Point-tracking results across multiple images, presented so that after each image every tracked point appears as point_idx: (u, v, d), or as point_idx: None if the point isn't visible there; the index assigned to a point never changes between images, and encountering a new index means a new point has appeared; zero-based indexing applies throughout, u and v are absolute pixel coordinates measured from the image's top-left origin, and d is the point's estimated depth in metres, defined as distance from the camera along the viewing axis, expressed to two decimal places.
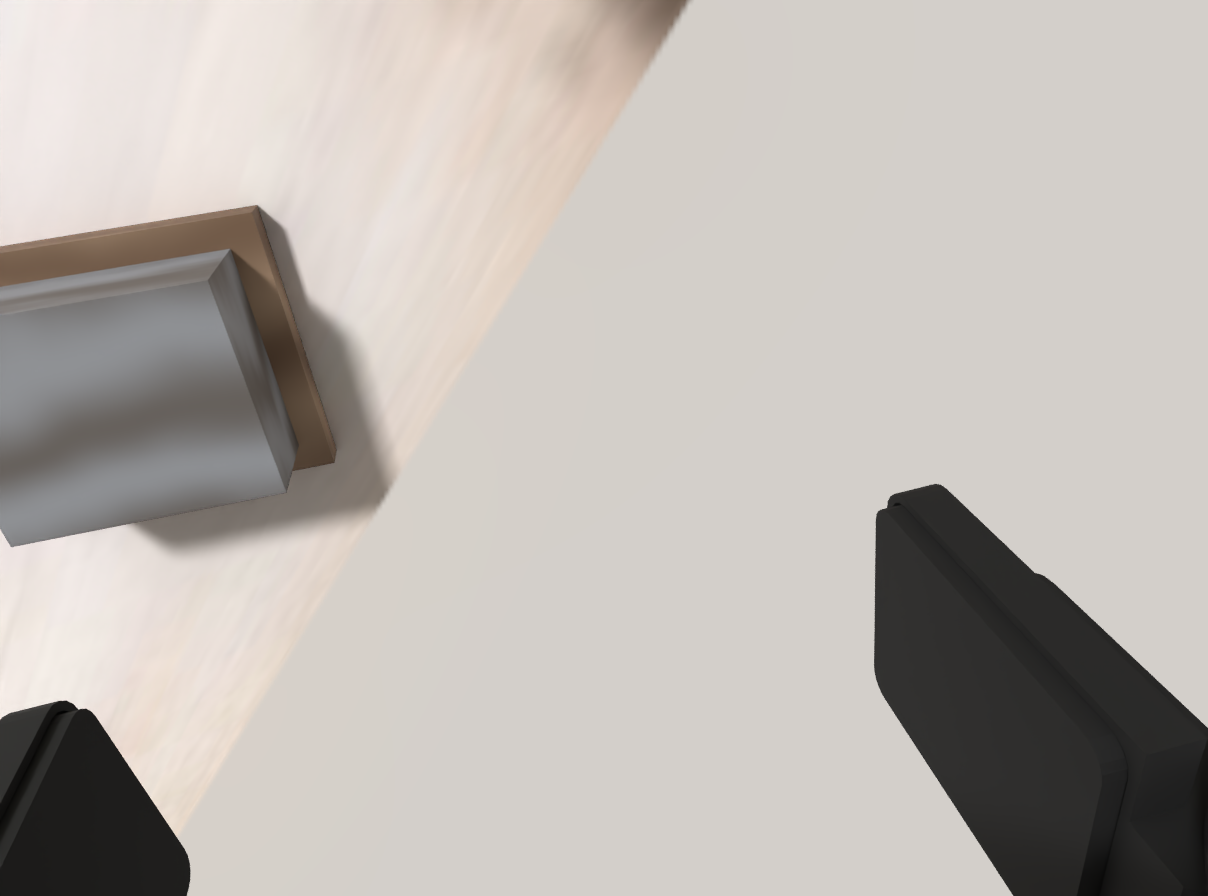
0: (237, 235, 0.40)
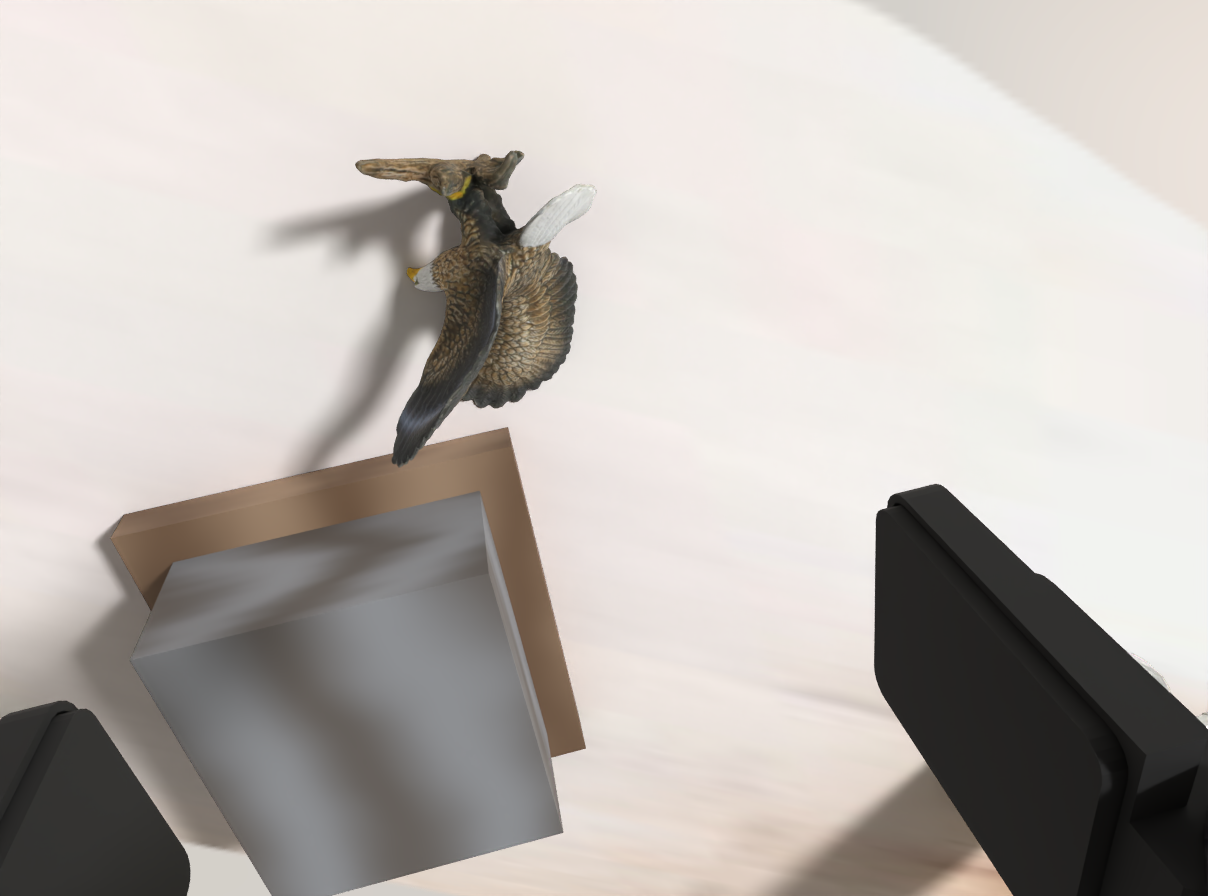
0: (561, 739, 0.37)
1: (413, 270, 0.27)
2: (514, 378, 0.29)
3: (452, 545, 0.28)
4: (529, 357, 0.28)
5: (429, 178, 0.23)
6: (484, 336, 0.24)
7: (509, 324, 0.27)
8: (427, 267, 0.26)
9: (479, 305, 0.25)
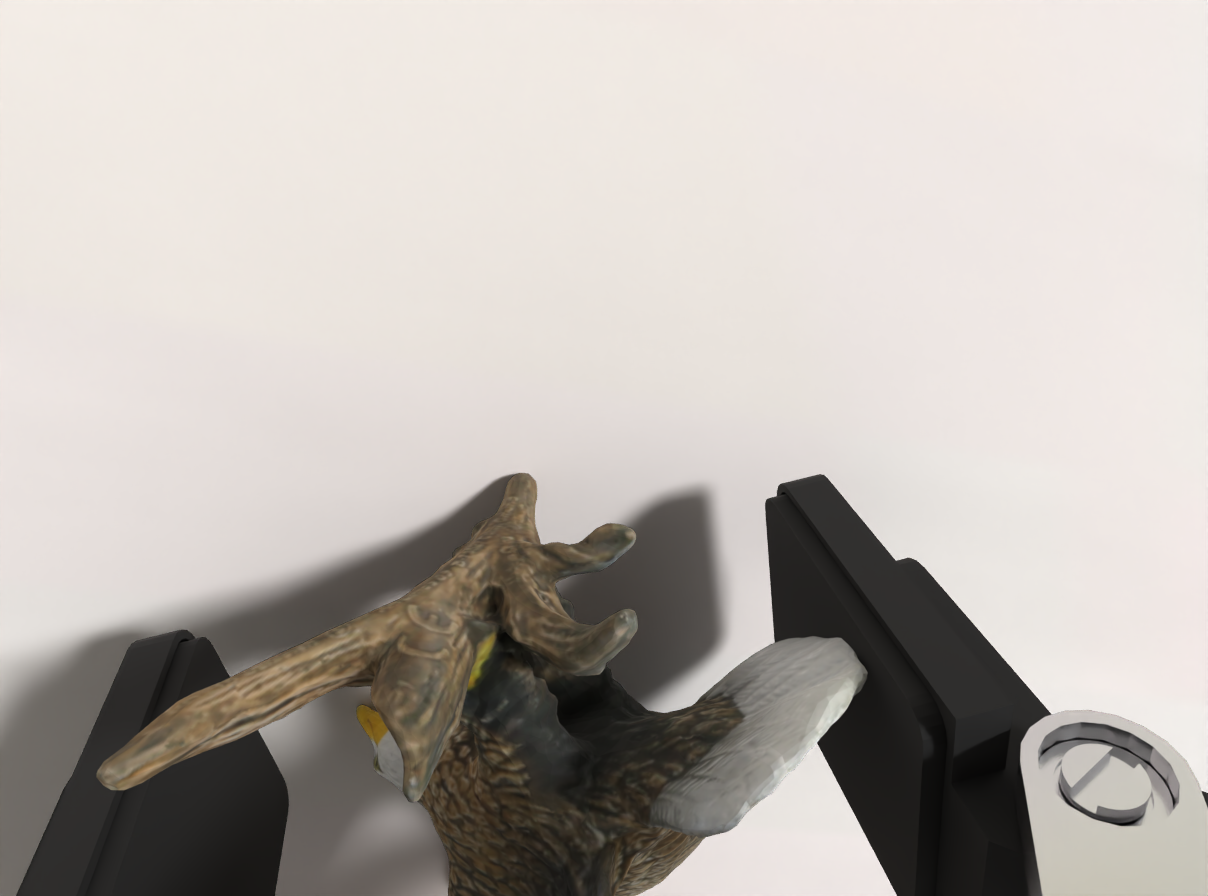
0: None
1: (370, 717, 0.12)
2: None
3: None
4: (644, 890, 0.12)
5: (373, 676, 0.08)
6: None
7: None
8: (398, 751, 0.11)
9: None
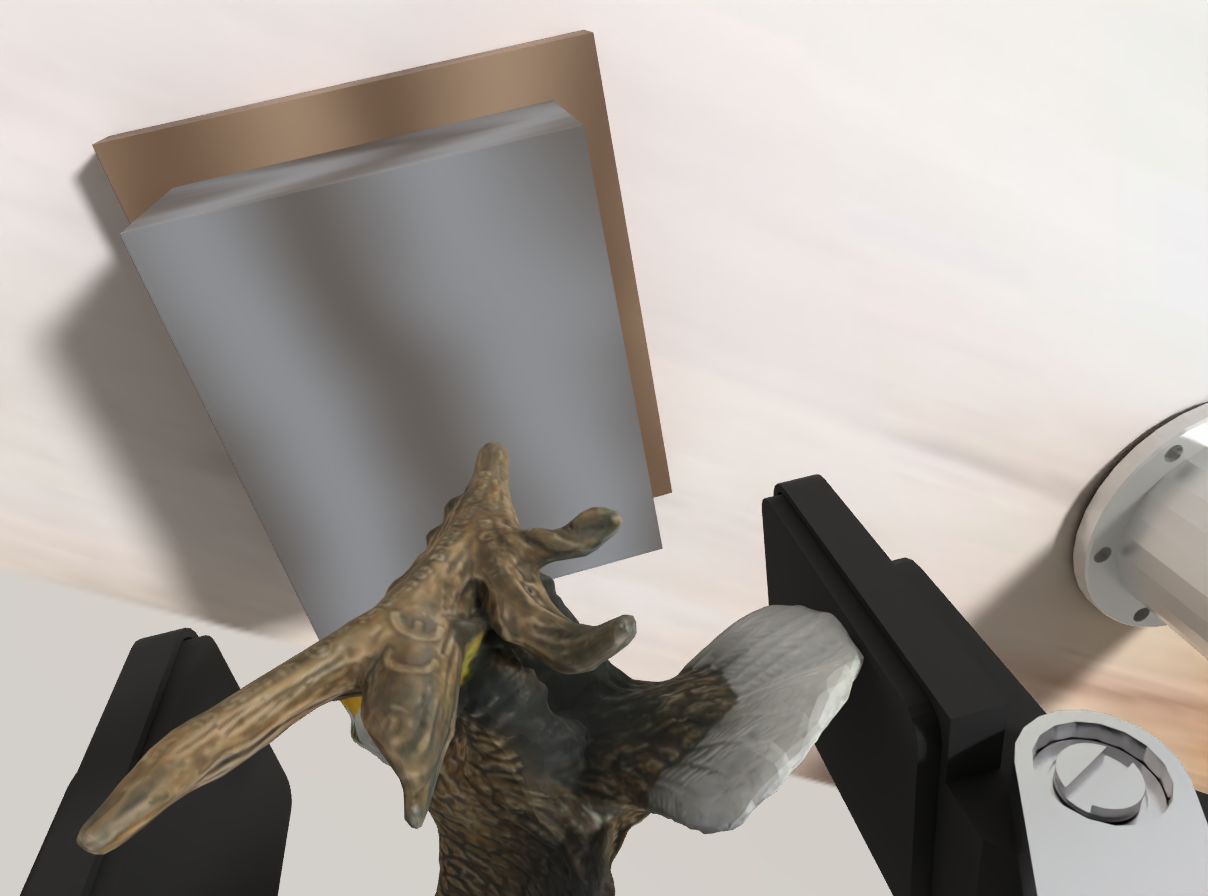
0: None
1: None
2: None
3: (528, 123, 0.22)
4: None
5: (359, 689, 0.07)
6: None
7: None
8: None
9: (532, 890, 0.10)
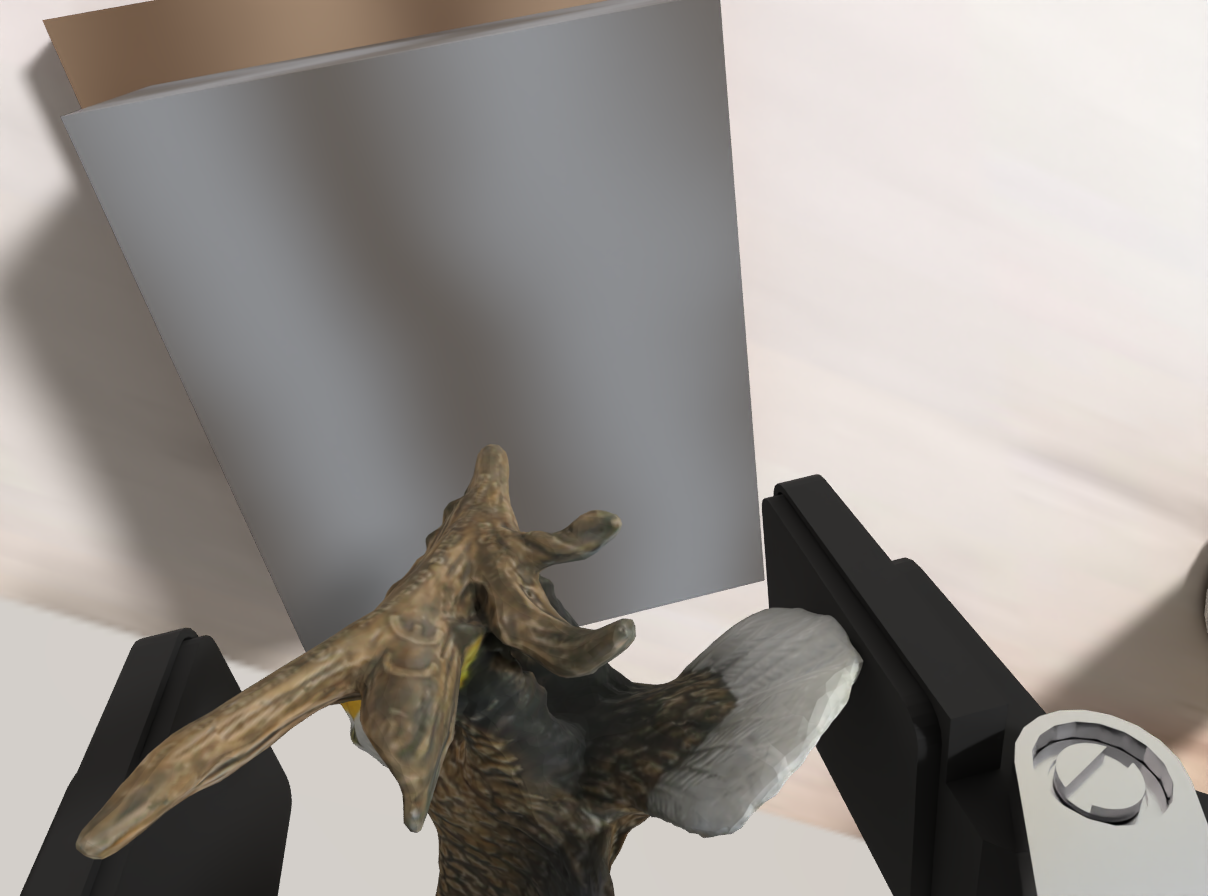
0: None
1: None
2: None
3: (632, 2, 0.16)
4: None
5: (358, 692, 0.07)
6: None
7: None
8: None
9: (531, 893, 0.10)
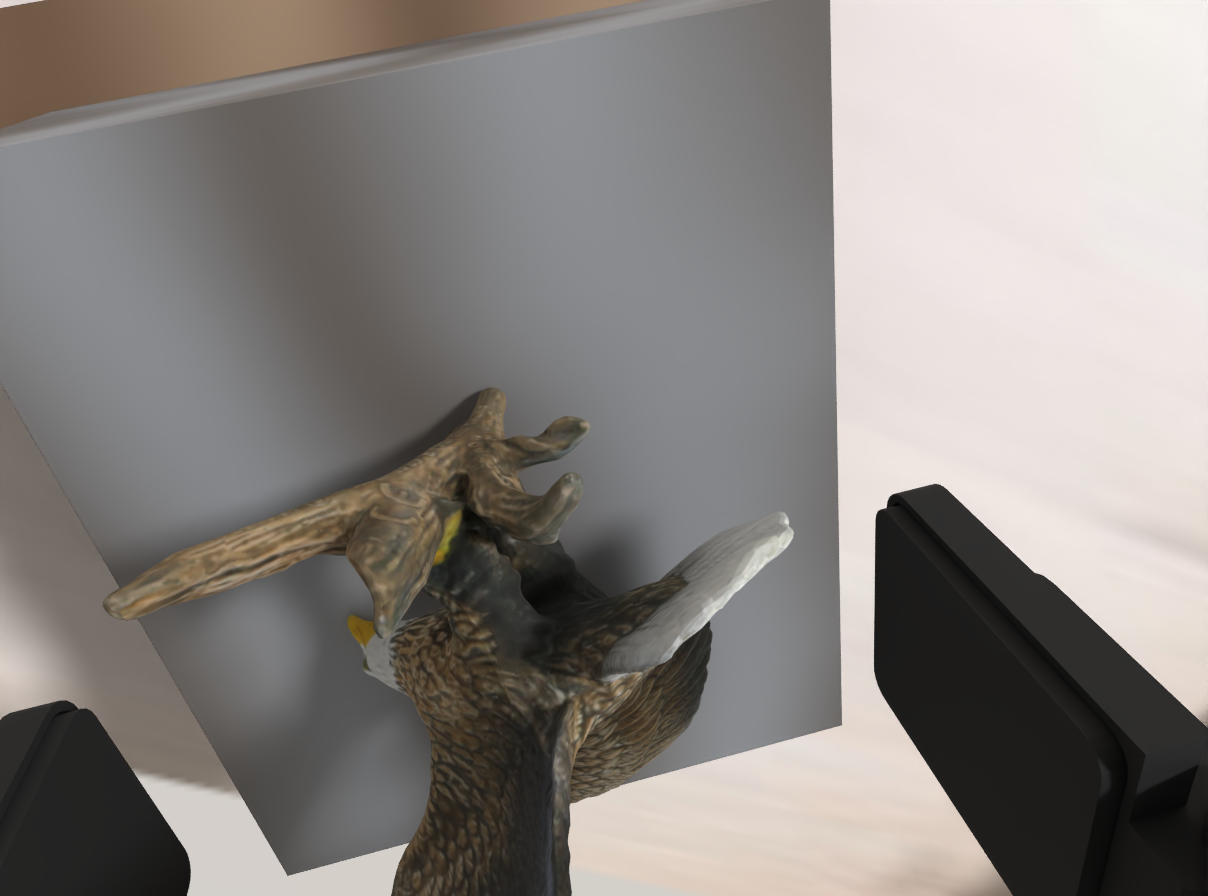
0: None
1: (359, 625, 0.13)
2: None
3: (695, 3, 0.12)
4: (618, 784, 0.13)
5: None
6: (526, 891, 0.10)
7: (576, 756, 0.12)
8: (384, 647, 0.12)
9: (508, 788, 0.10)
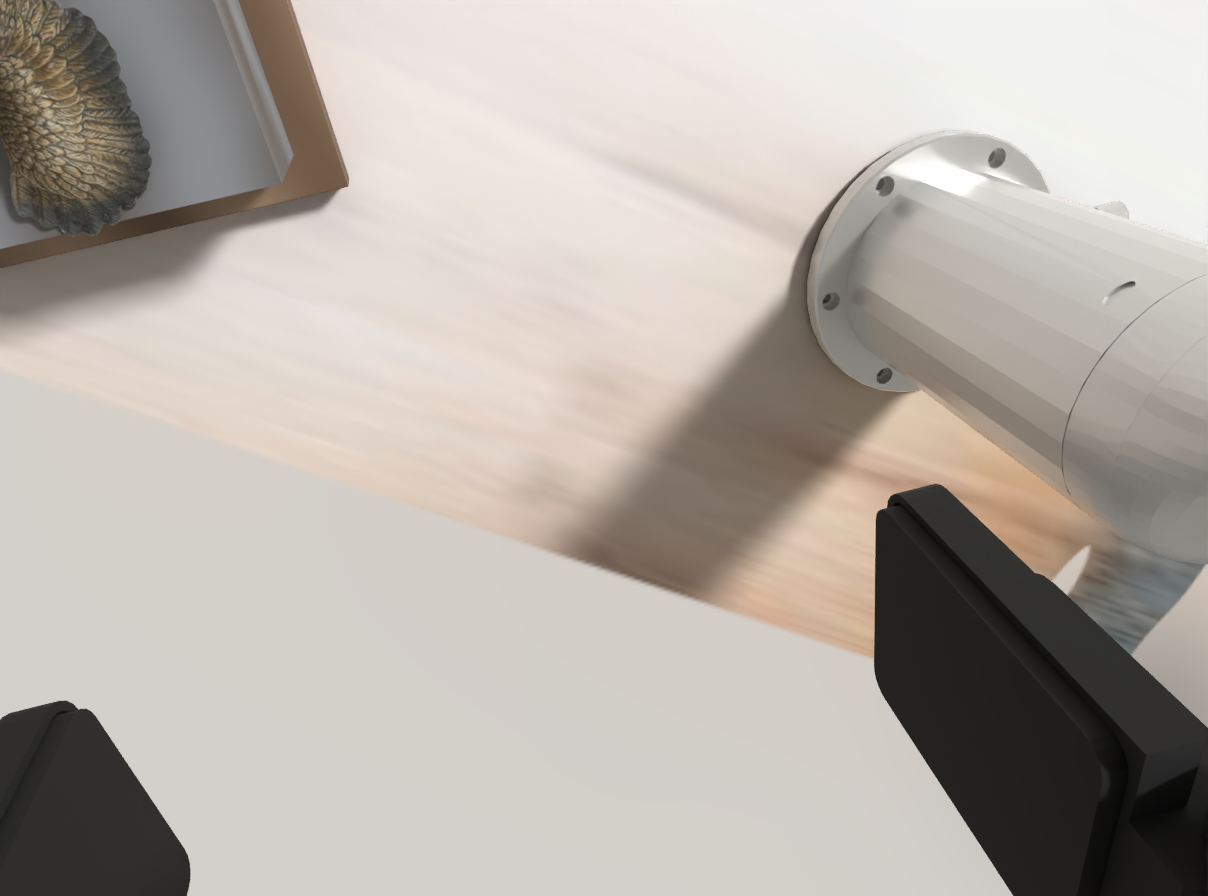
0: (313, 166, 0.31)
1: None
2: (81, 185, 0.24)
3: None
4: (74, 150, 0.23)
5: None
6: None
7: (19, 101, 0.21)
8: None
9: None
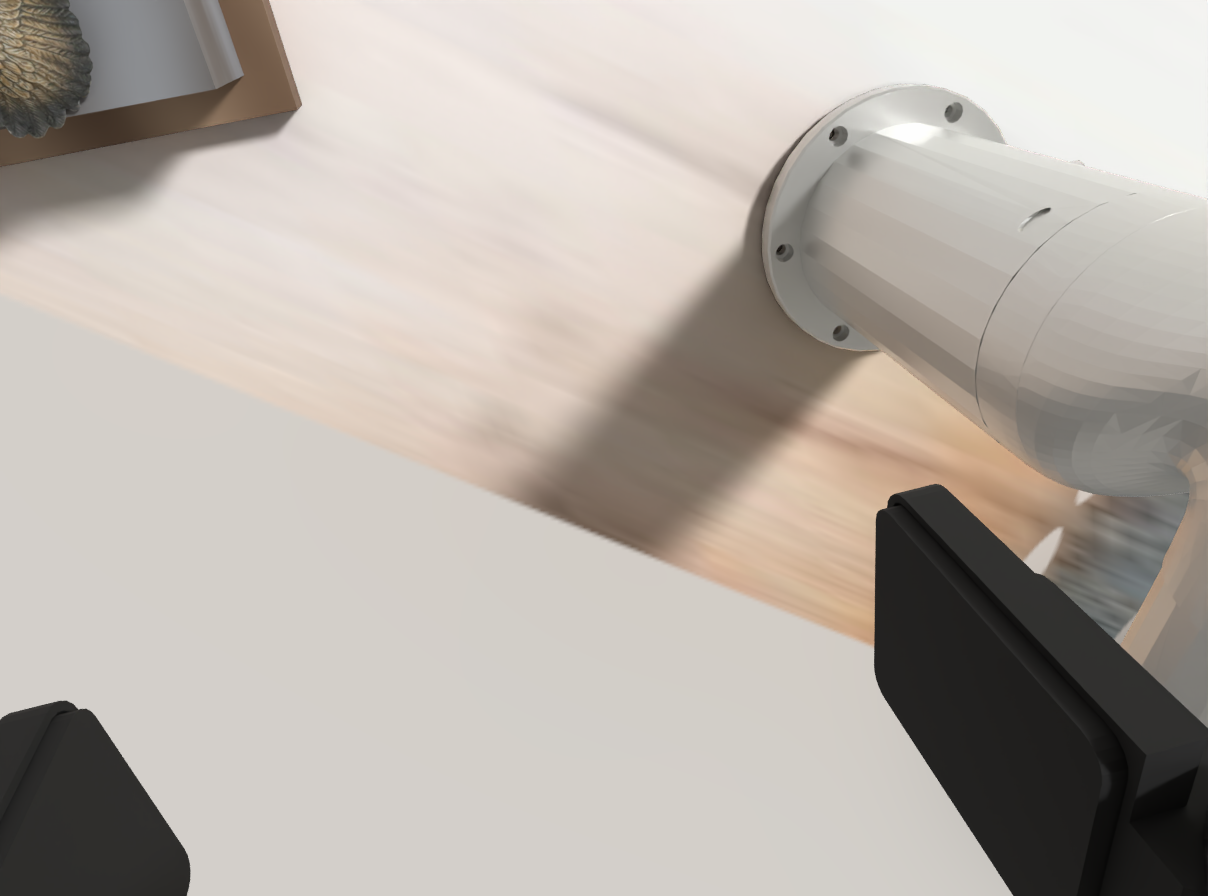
0: (263, 87, 0.32)
1: None
2: (22, 83, 0.25)
3: None
4: (12, 45, 0.24)
5: None
6: None
7: None
8: None
9: None
